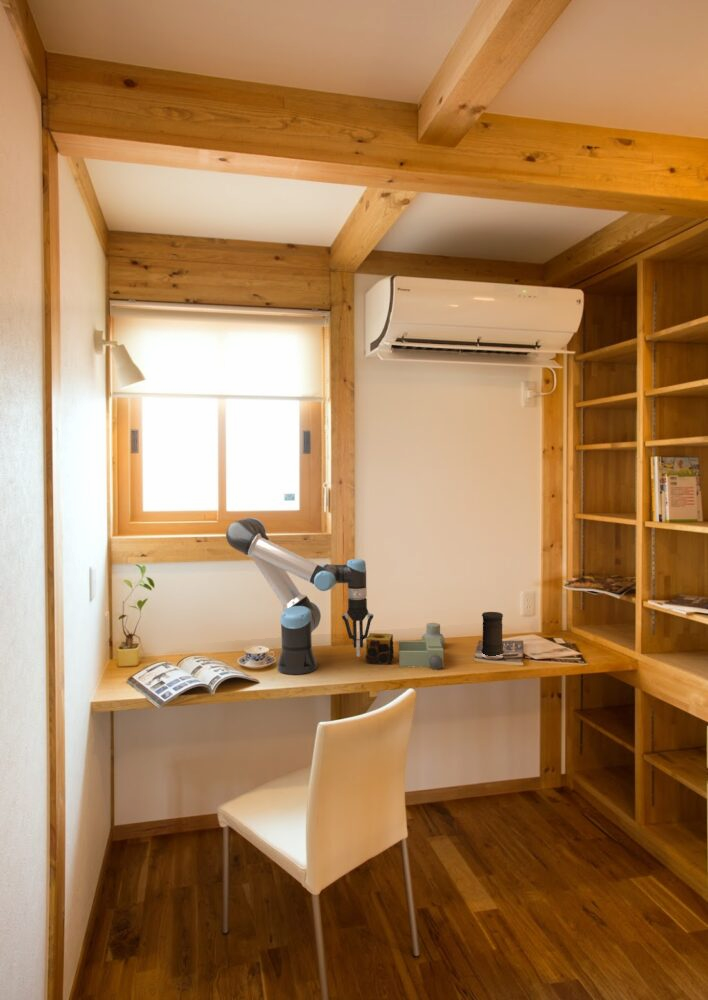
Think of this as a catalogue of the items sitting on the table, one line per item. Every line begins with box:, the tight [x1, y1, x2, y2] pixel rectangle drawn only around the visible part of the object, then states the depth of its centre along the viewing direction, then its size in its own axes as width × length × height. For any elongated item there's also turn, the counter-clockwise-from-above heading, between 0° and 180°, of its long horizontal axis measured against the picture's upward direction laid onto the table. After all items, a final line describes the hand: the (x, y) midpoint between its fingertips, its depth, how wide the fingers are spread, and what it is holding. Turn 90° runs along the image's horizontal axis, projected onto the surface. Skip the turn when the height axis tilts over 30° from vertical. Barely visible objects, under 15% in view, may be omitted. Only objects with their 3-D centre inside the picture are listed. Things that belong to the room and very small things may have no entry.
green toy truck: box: [398, 638, 444, 670], centre depth 261 cm, size 17×22×8 cm
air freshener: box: [421, 622, 446, 647], centre depth 281 cm, size 11×8×10 cm
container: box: [481, 611, 505, 656], centre depth 265 cm, size 9×9×18 cm
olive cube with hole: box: [365, 632, 395, 665], centre depth 262 cm, size 10×10×10 cm
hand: (358, 655), depth 263 cm, fingers closed
